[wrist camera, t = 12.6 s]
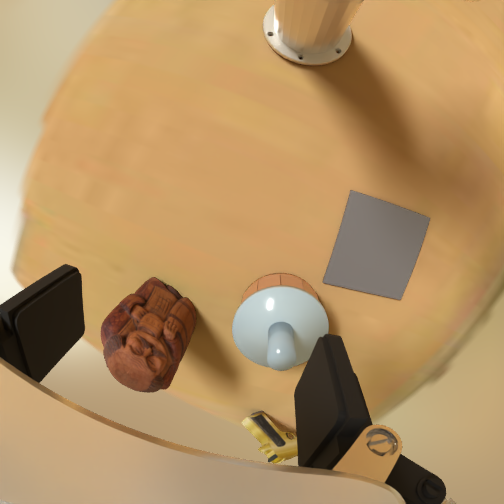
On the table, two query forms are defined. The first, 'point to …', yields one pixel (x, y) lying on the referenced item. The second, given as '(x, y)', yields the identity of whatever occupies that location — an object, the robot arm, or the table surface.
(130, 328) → the wooden figurine
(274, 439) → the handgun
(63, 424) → the robot arm
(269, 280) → the bowl
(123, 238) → the table surface
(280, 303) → the lid
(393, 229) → the mat
